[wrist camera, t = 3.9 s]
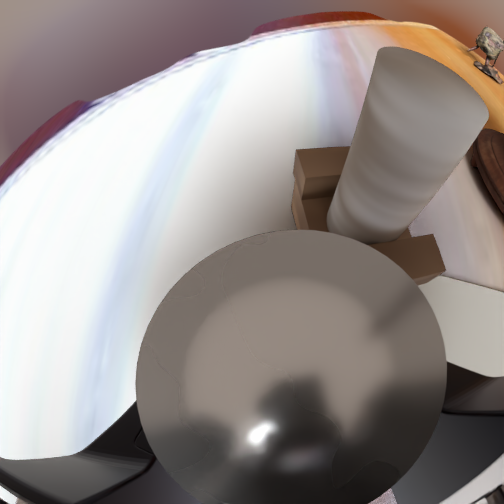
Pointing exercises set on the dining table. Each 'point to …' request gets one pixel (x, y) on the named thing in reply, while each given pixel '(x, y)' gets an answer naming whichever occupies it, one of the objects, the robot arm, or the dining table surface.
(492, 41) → the stone figurine
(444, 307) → the grey mat
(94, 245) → the dining table surface
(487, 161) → the beaded wooden stand
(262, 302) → the silver cylinder copper band
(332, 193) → the white candle wooden holder
